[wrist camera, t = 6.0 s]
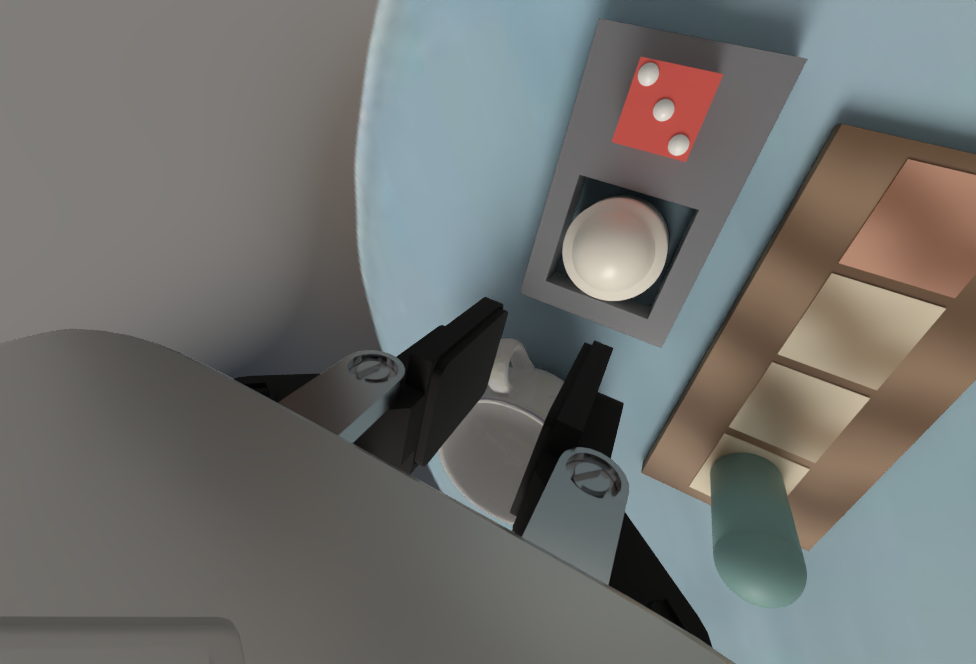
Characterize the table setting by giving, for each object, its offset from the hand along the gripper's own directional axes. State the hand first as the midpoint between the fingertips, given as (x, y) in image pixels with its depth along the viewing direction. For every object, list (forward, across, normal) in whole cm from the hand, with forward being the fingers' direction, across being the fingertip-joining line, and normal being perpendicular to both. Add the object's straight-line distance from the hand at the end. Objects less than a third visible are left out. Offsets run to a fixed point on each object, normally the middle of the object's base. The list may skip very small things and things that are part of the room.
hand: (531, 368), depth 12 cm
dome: (+19, 0, 0) cm, 19 cm away
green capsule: (+18, -14, +12) cm, 26 cm away
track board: (+19, -14, +4) cm, 24 cm away
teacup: (+19, +2, +14) cm, 24 cm away
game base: (+19, 0, -3) cm, 19 cm away
